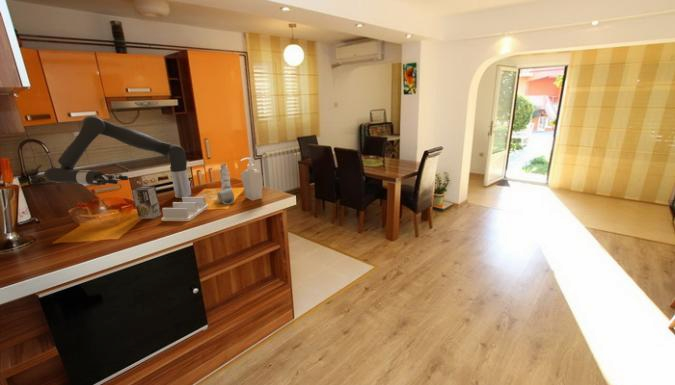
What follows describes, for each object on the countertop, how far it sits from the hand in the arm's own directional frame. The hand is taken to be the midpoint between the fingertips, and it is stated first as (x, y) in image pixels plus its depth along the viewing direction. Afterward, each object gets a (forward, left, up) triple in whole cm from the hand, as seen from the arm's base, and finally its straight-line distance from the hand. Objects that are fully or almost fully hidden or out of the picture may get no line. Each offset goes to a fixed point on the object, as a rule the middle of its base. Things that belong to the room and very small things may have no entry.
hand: (122, 180), depth 161 cm
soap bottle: (-33, +56, -21) cm, 68 cm away
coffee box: (-1, +10, -21) cm, 23 cm away
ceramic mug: (-24, +44, -21) cm, 54 cm away
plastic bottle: (-41, +36, -21) cm, 58 cm away
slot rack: (-5, +28, -21) cm, 35 cm away
